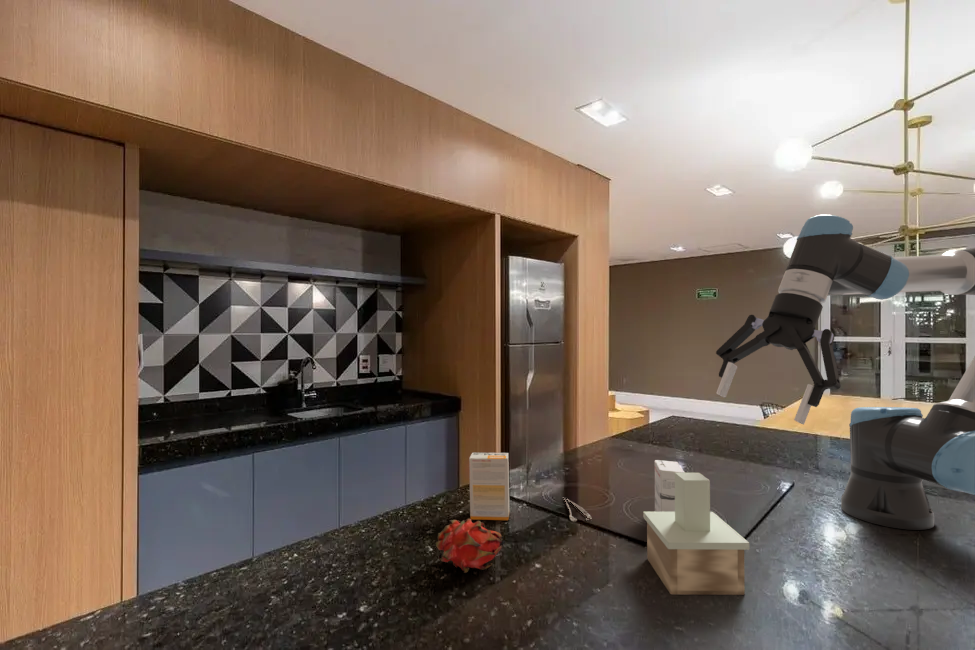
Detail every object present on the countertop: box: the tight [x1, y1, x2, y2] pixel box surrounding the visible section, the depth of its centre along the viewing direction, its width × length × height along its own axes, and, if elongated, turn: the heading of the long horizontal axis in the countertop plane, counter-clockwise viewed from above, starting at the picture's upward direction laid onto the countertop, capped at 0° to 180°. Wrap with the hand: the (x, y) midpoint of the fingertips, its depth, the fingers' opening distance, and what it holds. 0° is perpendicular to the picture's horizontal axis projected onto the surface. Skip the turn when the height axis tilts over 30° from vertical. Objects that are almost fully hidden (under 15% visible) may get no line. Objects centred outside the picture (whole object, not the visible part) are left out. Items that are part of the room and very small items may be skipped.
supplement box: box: [468, 452, 510, 521], centre depth 101 cm, size 8×5×13 cm, turn 84°
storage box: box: [646, 522, 746, 596], centre depth 77 cm, size 11×11×7 cm
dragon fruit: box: [434, 518, 506, 574], centre depth 80 cm, size 8×8×12 cm
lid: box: [642, 472, 750, 551], centre depth 77 cm, size 12×12×10 cm
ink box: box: [654, 459, 686, 512], centre depth 98 cm, size 9×5×12 cm, turn 168°
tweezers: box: [563, 498, 593, 522], centre depth 107 cm, size 17×5×2 cm, turn 6°
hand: (757, 408), depth 85 cm, fingers open, 13 cm apart
